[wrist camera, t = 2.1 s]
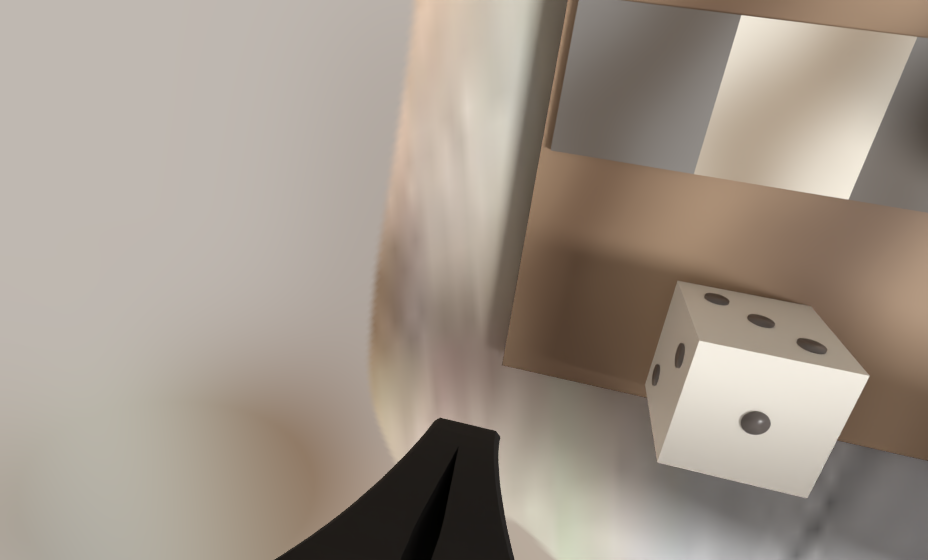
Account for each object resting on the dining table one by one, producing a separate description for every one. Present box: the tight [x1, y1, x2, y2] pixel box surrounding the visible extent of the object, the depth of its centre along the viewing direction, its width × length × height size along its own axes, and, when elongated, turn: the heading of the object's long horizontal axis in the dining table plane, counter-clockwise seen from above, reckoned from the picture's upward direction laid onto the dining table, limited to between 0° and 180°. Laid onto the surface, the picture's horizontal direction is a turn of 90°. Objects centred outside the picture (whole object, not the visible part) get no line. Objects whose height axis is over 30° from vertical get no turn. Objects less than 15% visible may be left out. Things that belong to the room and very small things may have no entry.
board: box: [502, 0, 928, 461], centre depth 16 cm, size 20×16×1 cm
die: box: [645, 281, 869, 498], centre depth 16 cm, size 4×4×4 cm
